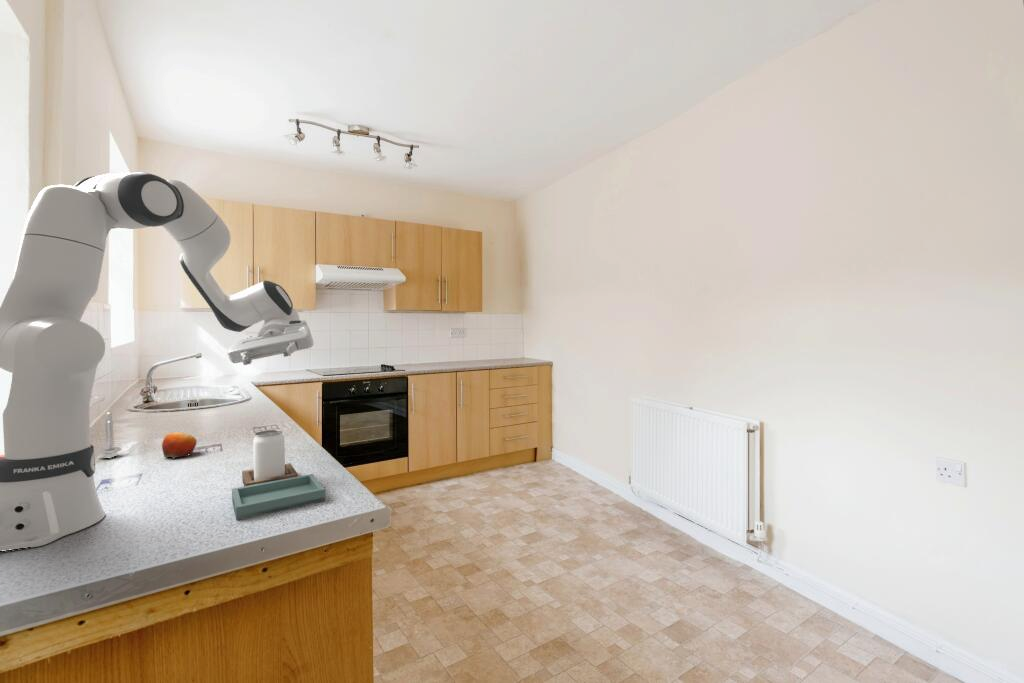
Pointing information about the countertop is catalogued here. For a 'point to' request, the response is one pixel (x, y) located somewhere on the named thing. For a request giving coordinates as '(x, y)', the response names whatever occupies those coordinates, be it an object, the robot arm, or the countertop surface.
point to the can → (268, 454)
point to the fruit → (178, 444)
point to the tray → (276, 496)
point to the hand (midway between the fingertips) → (266, 357)
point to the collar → (249, 478)
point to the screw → (109, 438)
